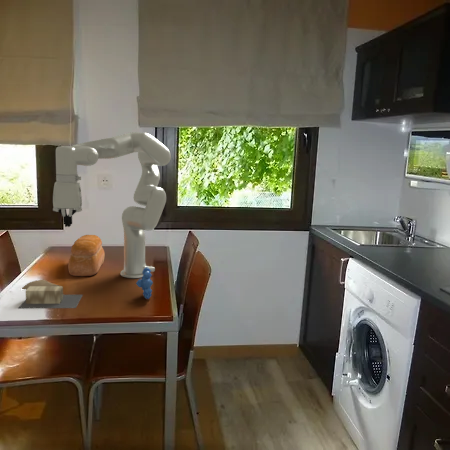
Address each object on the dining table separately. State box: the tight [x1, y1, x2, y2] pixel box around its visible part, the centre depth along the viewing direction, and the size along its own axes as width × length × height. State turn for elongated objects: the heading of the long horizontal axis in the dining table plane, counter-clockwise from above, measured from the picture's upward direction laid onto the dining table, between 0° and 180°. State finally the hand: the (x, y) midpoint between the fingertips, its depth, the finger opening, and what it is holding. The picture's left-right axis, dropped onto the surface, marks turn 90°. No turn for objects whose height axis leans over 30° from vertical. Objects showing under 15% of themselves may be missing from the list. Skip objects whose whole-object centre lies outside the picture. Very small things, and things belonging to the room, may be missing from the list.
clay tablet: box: [21, 279, 60, 291], centre depth 179 cm, size 14×10×3 cm
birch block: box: [25, 285, 64, 304], centre depth 164 cm, size 5×5×12 cm
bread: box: [67, 234, 106, 277], centre depth 207 cm, size 14×26×15 cm, turn 7°
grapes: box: [135, 267, 154, 300], centre depth 173 cm, size 12×7×12 cm, turn 14°
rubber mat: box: [18, 294, 84, 309], centre depth 165 cm, size 20×14×1 cm
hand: (67, 226), depth 171 cm, fingers closed
